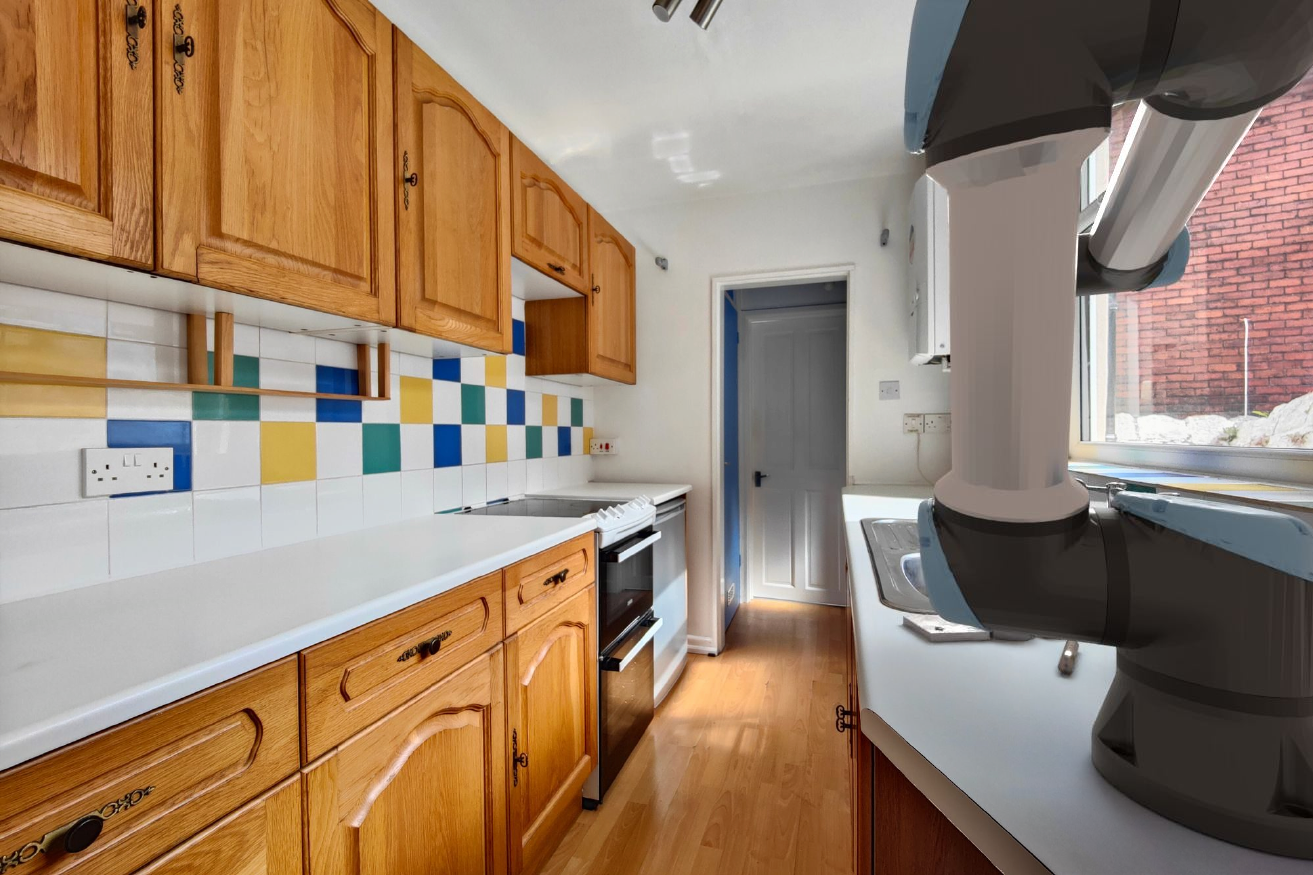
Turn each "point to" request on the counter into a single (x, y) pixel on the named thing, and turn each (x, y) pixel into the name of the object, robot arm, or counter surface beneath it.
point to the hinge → (954, 630)
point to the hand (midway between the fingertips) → (994, 516)
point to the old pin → (1068, 657)
